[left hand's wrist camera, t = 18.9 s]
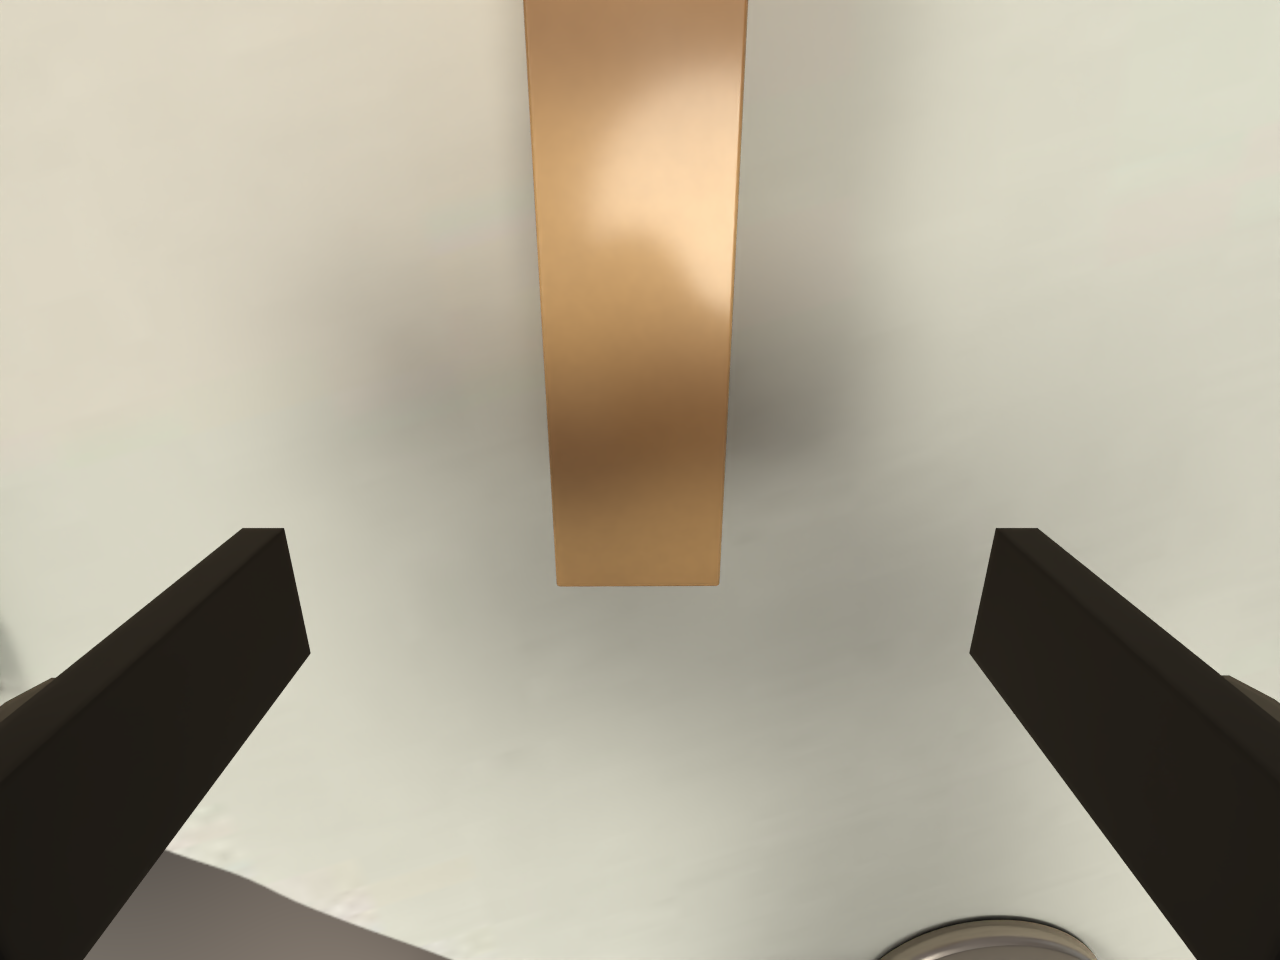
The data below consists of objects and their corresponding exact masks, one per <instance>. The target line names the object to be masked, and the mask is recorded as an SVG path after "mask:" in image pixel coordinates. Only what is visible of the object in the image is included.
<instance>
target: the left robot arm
mask: <svg viewBox="0 0 1280 960" xmlns="http://www.w3.org/2000/svg"><path fill="white" fill-rule="evenodd" d="M309 655H310V648H309V643H308V639H307V634H306V629H305V625H304V620H303V615H302V610H301V606H300V601H299V596H298V592H297V587H296V582H295V577H294V573H293V568H292V563H291V559H290V554H289V549H288V544H287V540H286V535H285V530H284V528H242V529H241V530H240V531H238V532H237V533H236V534H235V535H233V536H232V537H231V538H230V539H228V540H227V541H226V542H225V543H223V544H222V545H221V546H220V547H218V548H217V549H216V550H215V551H213V552H212V553H211V554H210V555H208V556H207V557H206V558H205V559H203V560H202V561H201V562H200V563H198V564H197V565H196V566H195V567H194V568H192V569H191V570H190V571H189V572H187V573H186V574H185V575H184V576H182V577H181V578H180V579H179V580H177V581H176V582H175V583H174V584H172V585H171V586H170V587H169V588H167V589H166V590H165V591H164V592H162V593H161V594H160V595H159V596H157V597H156V598H155V599H154V600H152V601H151V602H150V603H149V604H147V605H146V606H145V607H144V608H142V609H141V610H140V611H139V612H137V613H136V614H135V615H134V616H132V617H131V618H130V619H129V620H127V621H126V622H125V623H124V624H122V625H121V626H120V627H119V628H117V629H116V630H115V631H114V632H112V633H111V634H110V635H109V636H107V637H106V638H105V639H104V640H102V641H101V642H100V643H99V644H97V645H96V646H95V647H94V648H92V649H91V650H90V651H89V652H87V653H86V654H85V655H84V656H83V657H81V658H80V659H79V660H78V661H76V662H75V663H74V664H73V665H71V666H70V667H69V668H68V669H66V670H65V671H64V672H63V673H61V674H60V675H59V676H58V677H56V678H50V679H49V680H47V681H45V682H43V683H41V684H39V685H37V686H35V687H34V688H32V689H30V690H28V691H26V692H24V693H22V694H20V695H18V696H17V697H15V698H13V699H11V700H9V701H7V702H5V703H4V704H3V705H2V706H0V960H83V959H84V958H85V957H86V955H87V954H88V952H89V951H90V950H91V948H92V947H93V946H94V944H95V943H96V942H97V940H98V939H99V938H100V936H101V935H102V934H103V932H104V931H105V930H106V928H107V927H108V926H109V924H110V923H111V922H112V920H113V919H114V917H115V916H116V915H117V913H118V912H119V911H120V909H121V908H122V907H123V905H124V904H125V903H126V901H127V900H128V899H129V897H130V896H131V895H132V893H133V892H134V890H135V889H136V888H137V886H138V885H139V884H140V882H141V881H142V880H143V878H144V877H145V876H146V874H147V873H148V872H149V870H150V869H151V868H152V866H153V865H154V864H155V862H156V861H157V860H158V858H159V857H160V855H161V854H162V853H163V851H164V850H165V849H166V847H167V846H168V845H169V843H170V842H171V841H172V839H173V838H174V837H175V835H176V834H177V833H178V831H179V830H180V829H181V827H182V826H183V825H184V823H185V822H186V820H187V819H188V818H189V816H190V815H191V814H192V812H193V811H194V810H195V808H196V807H197V806H198V804H199V803H200V802H201V800H202V799H203V798H204V796H205V795H206V794H207V792H208V791H209V789H210V788H211V787H212V785H213V784H214V783H215V781H216V780H217V779H218V777H219V776H220V775H221V773H222V772H223V771H224V769H225V768H226V767H227V765H228V764H229V763H230V761H231V760H232V758H233V757H234V756H235V754H236V753H237V752H238V750H239V749H240V748H241V746H242V745H243V744H244V742H245V741H246V740H247V738H248V737H249V736H250V734H251V733H252V732H253V730H254V729H255V728H256V726H257V725H258V723H259V722H260V721H261V719H262V718H263V717H264V715H265V714H266V713H267V711H268V710H269V709H270V707H271V706H272V705H273V703H274V702H275V701H276V699H277V698H278V697H279V695H280V694H281V692H282V691H283V690H284V688H285V687H286V686H287V684H288V683H289V682H290V680H291V679H292V678H293V676H294V675H295V674H296V672H297V671H298V670H299V668H300V667H301V666H302V664H303V663H304V662H305V660H306V659H307V657H308V656H309ZM970 655H971V656H972V657H973V659H974V660H975V662H976V663H977V664H978V666H979V667H980V668H981V670H982V671H983V672H984V674H985V675H986V676H987V678H988V679H989V680H990V682H991V683H992V684H993V686H994V687H995V688H996V690H997V691H998V692H999V694H1000V695H1001V697H1002V698H1003V699H1004V701H1005V702H1006V703H1007V705H1008V706H1009V707H1010V709H1011V710H1012V711H1013V713H1014V714H1015V715H1016V717H1017V718H1018V719H1019V721H1020V722H1021V723H1022V725H1023V726H1024V728H1025V729H1026V730H1027V732H1028V733H1029V734H1030V736H1031V737H1032V738H1033V740H1034V741H1035V742H1036V744H1037V745H1038V746H1039V748H1040V749H1041V750H1042V752H1043V753H1044V754H1045V756H1046V757H1047V759H1048V760H1049V761H1050V763H1051V764H1052V765H1053V767H1054V768H1055V769H1056V771H1057V772H1058V773H1059V775H1060V776H1061V777H1062V779H1063V780H1064V781H1065V783H1066V784H1067V785H1068V787H1069V788H1070V789H1071V791H1072V792H1073V794H1074V795H1075V796H1076V798H1077V799H1078V800H1079V802H1080V803H1081V804H1082V806H1083V807H1084V808H1085V810H1086V811H1087V812H1088V814H1089V815H1090V816H1091V818H1092V819H1093V820H1094V822H1095V823H1096V825H1097V826H1098V827H1099V829H1100V830H1101V831H1102V833H1103V834H1104V835H1105V837H1106V838H1107V839H1108V841H1109V842H1110V843H1111V845H1112V846H1113V847H1114V849H1115V850H1116V851H1117V853H1118V854H1119V855H1120V857H1121V858H1122V860H1123V861H1124V862H1125V864H1126V865H1127V866H1128V868H1129V869H1130V870H1131V872H1132V873H1133V874H1134V876H1135V877H1136V878H1137V880H1138V881H1139V882H1140V884H1141V885H1142V886H1143V888H1144V889H1145V891H1146V892H1147V893H1148V895H1149V896H1150V897H1151V899H1152V900H1153V901H1154V903H1155V904H1156V905H1157V907H1158V908H1159V909H1160V911H1161V912H1162V913H1163V915H1164V916H1165V917H1166V919H1167V920H1168V922H1169V923H1170V924H1171V926H1172V927H1173V928H1174V930H1175V931H1176V932H1177V934H1178V935H1179V936H1180V938H1181V939H1182V940H1183V942H1184V943H1185V944H1186V946H1187V947H1188V948H1189V950H1190V951H1191V952H1192V954H1193V955H1194V957H1195V958H1196V959H1197V960H1280V703H1279V702H1277V701H1276V700H1275V699H1273V698H1271V697H1269V696H1267V695H1265V694H1263V693H1262V692H1260V691H1258V690H1256V689H1254V688H1252V687H1250V686H1248V685H1246V684H1244V683H1243V682H1241V681H1239V680H1237V679H1235V678H1233V677H1231V676H1221V675H1220V674H1219V673H1217V672H1216V671H1215V670H1214V669H1212V668H1211V667H1210V666H1209V665H1207V664H1206V663H1205V662H1204V661H1202V660H1201V659H1200V658H1199V657H1197V656H1196V655H1195V654H1194V653H1193V652H1191V651H1190V650H1189V649H1188V648H1186V647H1185V646H1184V645H1183V644H1181V643H1180V642H1179V641H1178V640H1176V639H1175V638H1174V637H1173V636H1171V635H1170V634H1169V633H1168V632H1166V631H1165V630H1164V629H1163V628H1161V627H1160V626H1159V625H1158V624H1156V623H1155V622H1154V621H1153V620H1151V619H1150V618H1149V617H1148V616H1146V615H1145V614H1144V613H1143V612H1141V611H1140V610H1139V609H1138V608H1136V607H1135V606H1134V605H1133V604H1131V603H1130V602H1129V601H1128V600H1126V599H1125V598H1124V597H1123V596H1121V595H1120V594H1119V593H1118V592H1116V591H1115V590H1114V589H1113V588H1111V587H1110V586H1109V585H1108V584H1106V583H1105V582H1104V581H1103V580H1101V579H1100V578H1099V577H1098V576H1096V575H1095V574H1094V573H1093V572H1091V571H1090V570H1089V569H1088V568H1086V567H1085V566H1084V565H1083V564H1082V563H1080V562H1079V561H1078V560H1077V559H1075V558H1074V557H1073V556H1072V555H1070V554H1069V553H1068V552H1067V551H1065V550H1064V549H1063V548H1062V547H1060V546H1059V545H1058V544H1057V543H1055V542H1054V541H1053V540H1052V539H1050V538H1049V537H1048V536H1047V535H1045V534H1044V533H1043V532H1042V531H1040V530H1039V529H1038V528H996V530H995V535H994V540H993V544H992V549H991V554H990V559H989V563H988V568H987V573H986V577H985V582H984V587H983V592H982V596H981V601H980V606H979V610H978V615H977V620H976V625H975V629H974V634H973V639H972V643H971V648H970ZM880 960H1097V959H1096V957H1095V956H1094V954H1093V953H1092V952H1091V951H1090V949H1088V948H1087V947H1086V946H1085V945H1084V944H1083V943H1082V942H1080V941H1079V940H1078V939H1076V938H1074V937H1073V936H1071V935H1069V934H1067V933H1065V932H1063V931H1060V930H1058V929H1055V928H1052V927H1049V926H1046V925H1042V924H1038V923H1032V922H1026V921H1017V920H984V921H974V922H967V923H962V924H957V925H952V926H948V927H944V928H941V929H938V930H934V931H932V932H929V933H926V934H923V935H921V936H919V937H916V938H914V939H912V940H910V941H908V942H906V943H904V944H902V945H900V946H899V947H897V948H895V949H894V950H892V951H891V952H889V953H888V954H886V955H885V956H884V957H883V958H881V959H880Z"/></svg>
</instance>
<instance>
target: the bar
mask: <svg viewBox="0 0 1280 960" xmlns="http://www.w3.org/2000/svg"><path fill="white" fill-rule="evenodd" d="M523 5H524V23H525V40H526V58H527V75H528V92H529V110H530V127H531V145H532V162H533V179H534V197H535V214H536V231H537V249H538V266H539V284H540V301H541V318H542V336H543V353H544V371H545V388H546V405H547V423H548V440H549V458H550V475H551V492H552V510H553V527H554V544H555V562H556V579H557V585H558V586H717V585H718V584H719V579H720V558H721V538H722V518H723V498H724V478H725V458H726V437H727V417H728V397H729V377H730V357H731V336H732V316H733V296H734V276H735V256H736V235H737V215H738V195H739V175H740V155H741V134H742V114H743V94H744V74H745V54H746V34H747V13H748V0H523Z"/></svg>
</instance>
